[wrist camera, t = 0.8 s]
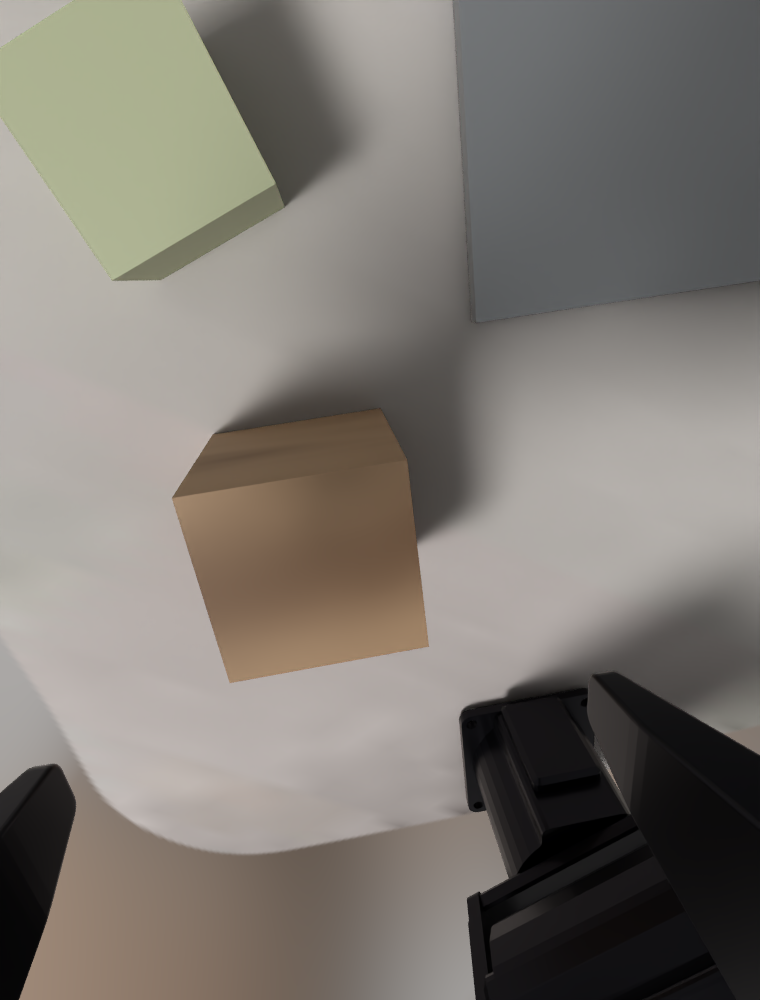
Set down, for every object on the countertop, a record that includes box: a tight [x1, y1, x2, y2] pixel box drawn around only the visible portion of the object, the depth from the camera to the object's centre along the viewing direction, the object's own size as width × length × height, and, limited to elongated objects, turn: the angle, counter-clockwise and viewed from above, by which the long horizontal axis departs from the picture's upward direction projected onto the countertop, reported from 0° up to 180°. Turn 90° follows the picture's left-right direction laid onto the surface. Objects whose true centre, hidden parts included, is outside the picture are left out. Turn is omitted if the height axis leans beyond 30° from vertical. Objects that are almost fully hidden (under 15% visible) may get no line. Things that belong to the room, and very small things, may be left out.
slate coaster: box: [453, 0, 760, 323], centre depth 16 cm, size 13×13×1 cm
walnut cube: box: [172, 408, 429, 683], centre depth 17 cm, size 6×6×6 cm
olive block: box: [0, 0, 284, 281], centre depth 14 cm, size 4×4×4 cm
